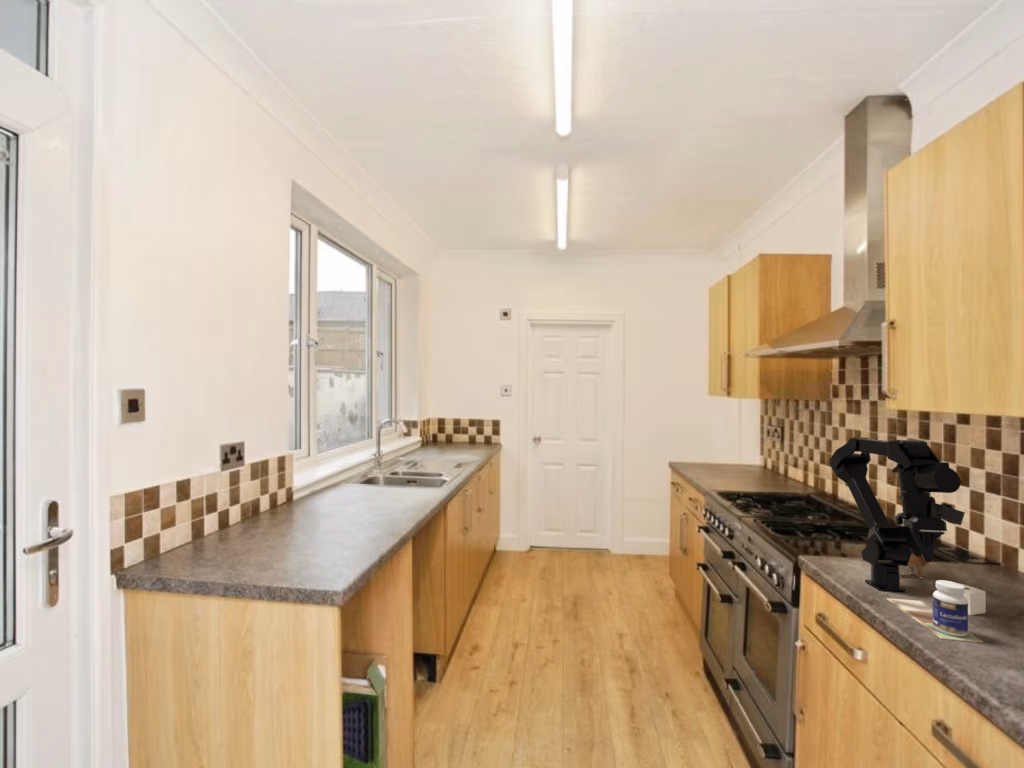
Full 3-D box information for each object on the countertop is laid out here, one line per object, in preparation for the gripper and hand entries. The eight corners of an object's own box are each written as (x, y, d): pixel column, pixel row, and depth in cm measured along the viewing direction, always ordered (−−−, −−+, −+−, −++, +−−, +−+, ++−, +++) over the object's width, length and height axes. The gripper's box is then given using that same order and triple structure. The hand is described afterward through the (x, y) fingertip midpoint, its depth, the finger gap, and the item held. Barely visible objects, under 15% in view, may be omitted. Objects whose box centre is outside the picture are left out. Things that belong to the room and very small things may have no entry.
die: (946, 606, 122) (946, 585, 122) (961, 604, 123) (961, 583, 123) (970, 615, 117) (970, 593, 117) (985, 613, 118) (985, 591, 118)
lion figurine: (919, 572, 146) (919, 540, 146) (937, 578, 141) (937, 545, 141) (872, 573, 144) (872, 541, 144) (888, 580, 139) (888, 546, 139)
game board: (886, 599, 126) (886, 598, 126) (921, 601, 124) (921, 600, 124) (940, 638, 105) (940, 637, 105) (983, 642, 104) (983, 641, 104)
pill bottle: (940, 635, 106) (940, 586, 106) (927, 623, 112) (927, 577, 112) (974, 639, 104) (973, 590, 105) (959, 627, 110) (958, 580, 110)
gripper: (971, 493, 112) (982, 568, 109) (945, 492, 128) (954, 556, 126) (908, 492, 117) (917, 563, 114) (891, 490, 133) (898, 553, 131)
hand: (923, 559), depth 121 cm, fingers open, 9 cm apart
